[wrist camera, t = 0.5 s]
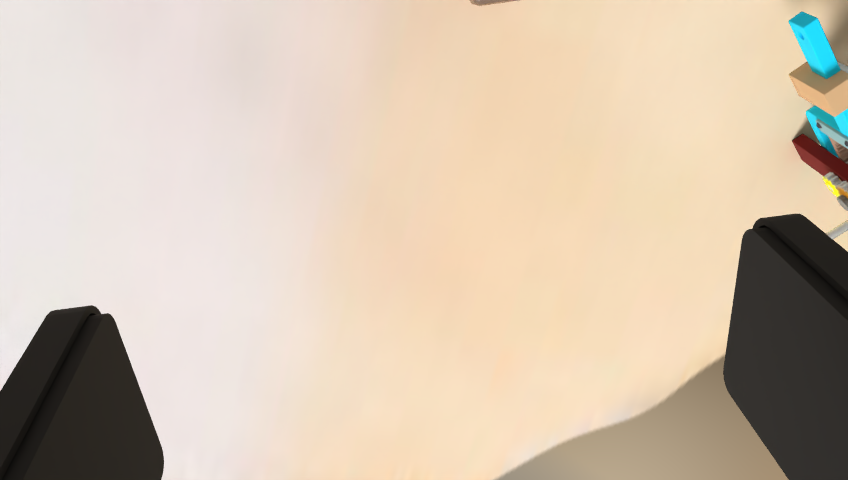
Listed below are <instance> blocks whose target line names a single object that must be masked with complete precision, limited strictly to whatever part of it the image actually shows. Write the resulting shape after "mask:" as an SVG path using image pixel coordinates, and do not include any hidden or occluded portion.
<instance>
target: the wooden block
mask: <svg viewBox="0 0 848 480" xmlns="http://www.w3.org/2000/svg"><path fill="white" fill-rule="evenodd" d="M511 1H518V0H470V2H471V3H472V4H475V5H478V6H482V5H489V4H496V3H503V2H511Z"/></svg>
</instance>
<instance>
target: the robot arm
mask: <svg viewBox="0 0 848 480" xmlns="http://www.w3.org/2000/svg"><path fill="white" fill-rule="evenodd" d="M723 374H724V381H725V385H726V388H727V390H728V392H729V394H730V395H731V397H732V398H733V400H734V401H735V402H736V404H737V405H738V407H739V408H740V410H741V411H742V413H743V414H744V416H745V417H746V418H747V420H748V421H749V423H750V424H751V426H752V427H753V429H754V430H755V431H756V433H757V434H758V436H759V437H760V439H761V440H762V442H763V443H764V444H765V446H766V447H767V449H768V450H769V451H770V453H771V455H772V456H773V457H774V459H775V460H776V462H777V463H778V465H779V466H780V467H781V469H782V470H783V472H784V473H785V475H786V476H787V478H788V479H789V480H848V252H847V251H846V250H845V249H844V248H842V247H841V246H840V245H839V244H838V243H836V242H835V241H834V240H833V239H831V238H830V237H829V236H828V235H827V234H825V233H824V232H823V231H822V230H821V229H819V228H818V227H817V226H816V225H814V224H813V223H812V222H811V221H810V220H808V219H807V218H806V217H805V216H803V215H801V214H790V215H782V216H774V217H767V218H760V219H758V220H757V221H756V222H755V224H754V226H753V229H749V230H747V231H745V233H744V235H743V238H742V244H741V251H740V258H739V265H738V271H737V278H736V285H735V292H734V299H733V306H732V313H731V320H730V327H729V334H728V341H727V348H726V355H725V362H724V371H723ZM163 468H164V457H163V450H162V447H161V444H160V441H159V439H158V436H157V433H156V430H155V428H154V425H153V422H152V420H151V417H150V414H149V412H148V409H147V406H146V403H145V401H144V398H143V395H142V393H141V390H140V387H139V385H138V382H137V379H136V376H135V374H134V371H133V368H132V366H131V363H130V360H129V358H128V355H127V352H126V349H125V347H124V344H123V341H122V339H121V336H120V333H119V330H118V328H117V325H116V322H115V320H114V318H113V317H112V316H111V315H110V314H108V313H107V314H101V313H100V311H99V310H98V309H97V308H96V307H95V306H84V307H76V308H69V309H61V310H54V311H51V312H50V313H49V314H48V315H47V316H46V318H45V319H44V321H43V322H42V324H41V326H40V327H39V329H38V331H37V332H36V334H35V336H34V337H33V339H32V340H31V342H30V344H29V345H28V347H27V349H26V350H25V352H24V354H23V355H22V357H21V358H20V360H19V362H18V363H17V365H16V367H15V368H14V370H13V372H12V373H11V375H10V376H9V378H8V380H7V381H6V383H5V385H4V386H3V388H2V390H1V391H0V480H161V478H162V474H163Z"/></svg>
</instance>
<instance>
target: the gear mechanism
mask: <svg viewBox="0 0 848 480" xmlns="http://www.w3.org/2000/svg"><path fill="white" fill-rule="evenodd" d="M789 24H790V26H791V28H792V30H793V32H794V34H795V36H796V38H797V40H798V43H799V45H800V47H801V49H802V51H803V53H804V55H805V57H806V59H807V62H806V63H804V64H803V65H801V66H800V67H799V68H797V69H796V70H794V71H793V72H791V73H790V74H789V76H790V78H791V80H792V82H793V84H794V86H795V88H796V90H797V93H798V95H799V96H801V97H802V98H804V99H806V100H807V101H809V102H811V103H812V104H814V105H815V106H813V107H812V108H810V109H809V110H807V111H806V116H807V118H808V120H809V122H810V124H811V126H812V128H813V130H814V132H815V134H816V136H817V138H818V140H819V142H820V144H821V146H820V145H819V144H817V143H816V142H814V141H813V140H811V139H810V138H808V137H807V136H806V135H804V134H802V135H800V136H799V137H797V138H796V139H794V140H793V141H792V142H793V144H794V146H795V148H796V150H797V151H798V153H799V155H800V157H801V159H802V160H803V161H804V162H805V163H807V164H808V165H809V166H811V167H812V168H813V169H815V170H816V171H817V172H819V173H820V174H821V175H823V180H824V181H825V182H826V183H825V184H826V185H827V187H828V189H829V190H830V191H831V192H832V193H833V194H834V195H836V196H837V200H838V202H839V203H840V205H841V206H842V207H843V208H844V209H845V210H847V211H848V66H846V65H844V64H842V63H840V62H838V61H837V60H836V58H835V56H834V53H833V51H832V49H831V47H830V44H829V42H828V40H827V38H826V36H825V33H824V31H823V29H822V27H821V24H820V22H819V20H818V18H816V17H814V16H812V15H809V14H807V13H804V12H800V13H799V14H798V15H796V16H795V17H793V18H792V19H790V20H789ZM847 230H848V220H847V221H845V222H844V223H842V224H840V225H839V226H837V227H836V228H834V229H832V230H831V231H829V232H828V233H826V234H827V235H828V236H829V237H830V238H831V239H834V238H836V237H837V236H839V235H841V234H842V233H844V232H846V231H847Z"/></svg>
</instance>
